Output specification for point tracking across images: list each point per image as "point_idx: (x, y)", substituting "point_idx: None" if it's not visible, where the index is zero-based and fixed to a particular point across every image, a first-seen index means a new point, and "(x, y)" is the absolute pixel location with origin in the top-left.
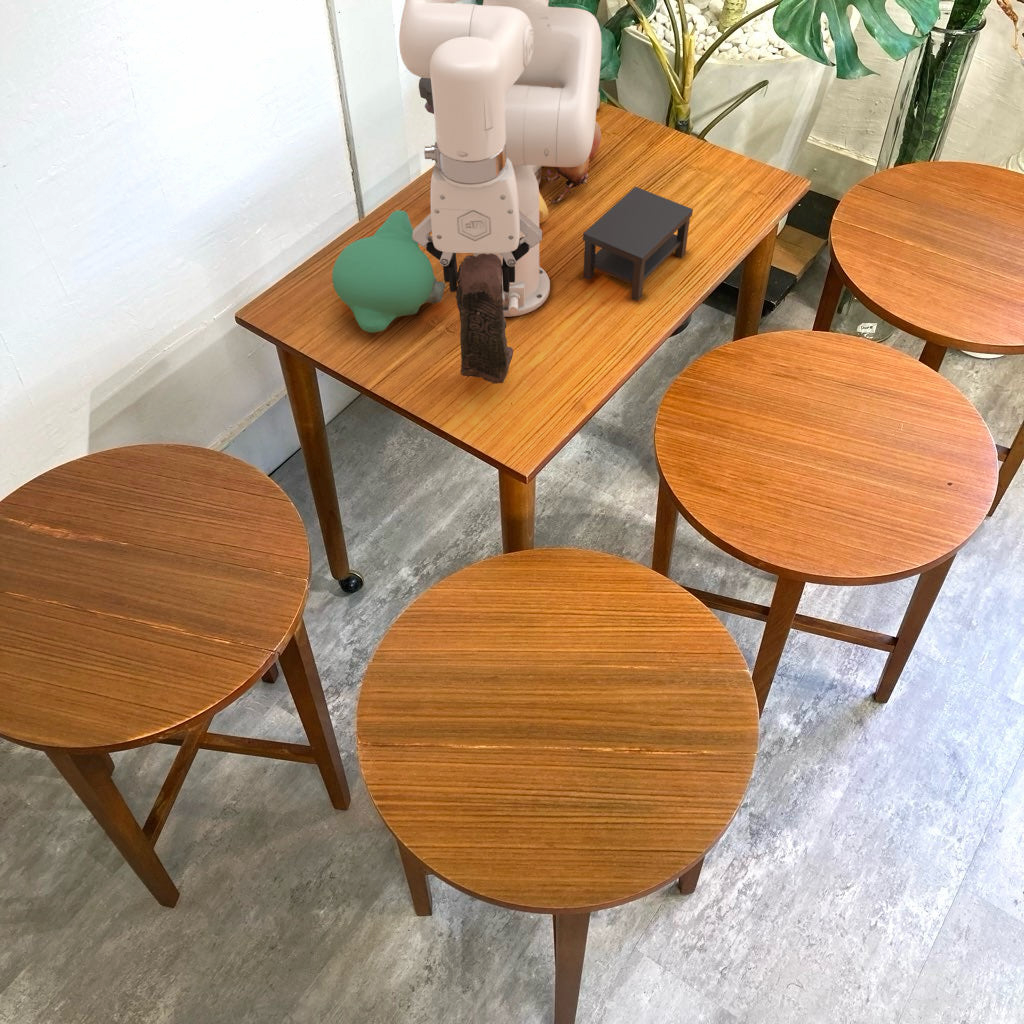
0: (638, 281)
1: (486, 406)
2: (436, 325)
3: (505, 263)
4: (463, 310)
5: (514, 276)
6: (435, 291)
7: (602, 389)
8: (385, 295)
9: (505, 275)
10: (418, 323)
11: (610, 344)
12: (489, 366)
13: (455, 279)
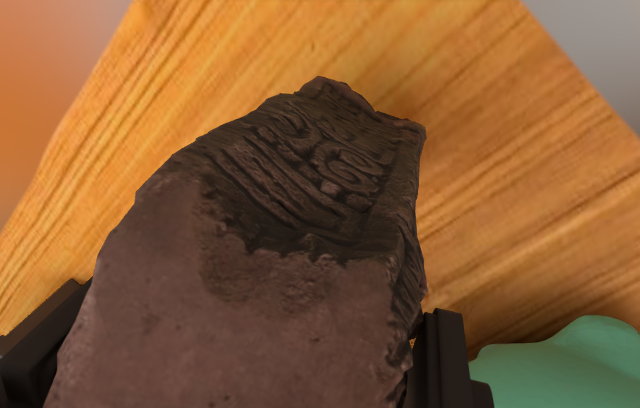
0: (40, 308)
1: (374, 46)
2: (446, 309)
3: (27, 405)
4: (399, 215)
5: (55, 309)
6: None
7: (111, 62)
8: (592, 398)
9: (69, 318)
10: (483, 322)
11: (107, 188)
12: (344, 110)
13: (420, 379)
